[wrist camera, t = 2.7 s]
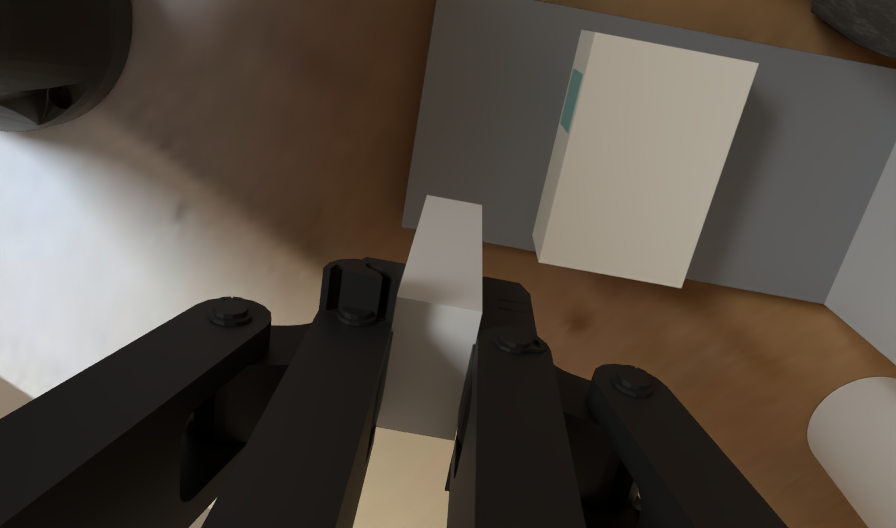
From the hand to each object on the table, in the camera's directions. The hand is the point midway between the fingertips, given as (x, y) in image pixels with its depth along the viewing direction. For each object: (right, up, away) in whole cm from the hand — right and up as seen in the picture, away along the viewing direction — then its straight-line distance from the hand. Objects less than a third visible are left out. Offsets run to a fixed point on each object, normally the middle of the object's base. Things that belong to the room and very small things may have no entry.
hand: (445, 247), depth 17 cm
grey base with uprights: (+13, +6, +21) cm, 26 cm away
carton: (+10, +6, +19) cm, 23 cm away
